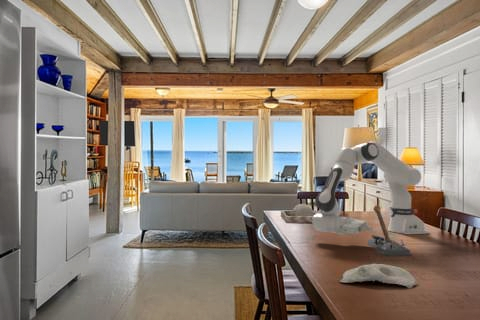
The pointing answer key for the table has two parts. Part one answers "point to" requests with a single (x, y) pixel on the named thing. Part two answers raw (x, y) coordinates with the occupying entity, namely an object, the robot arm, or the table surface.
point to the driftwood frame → (295, 217)
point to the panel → (388, 247)
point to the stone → (380, 275)
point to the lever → (382, 224)
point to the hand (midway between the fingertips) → (371, 228)
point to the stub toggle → (403, 244)
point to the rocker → (377, 237)
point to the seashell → (302, 210)
